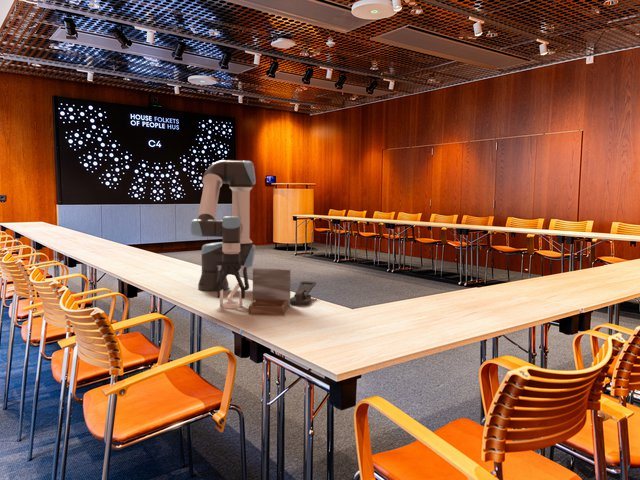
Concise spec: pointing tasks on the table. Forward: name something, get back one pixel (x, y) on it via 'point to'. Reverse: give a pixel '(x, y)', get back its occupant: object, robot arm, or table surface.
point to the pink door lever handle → (231, 299)
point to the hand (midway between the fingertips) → (231, 305)
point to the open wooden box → (270, 291)
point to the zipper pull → (302, 294)
